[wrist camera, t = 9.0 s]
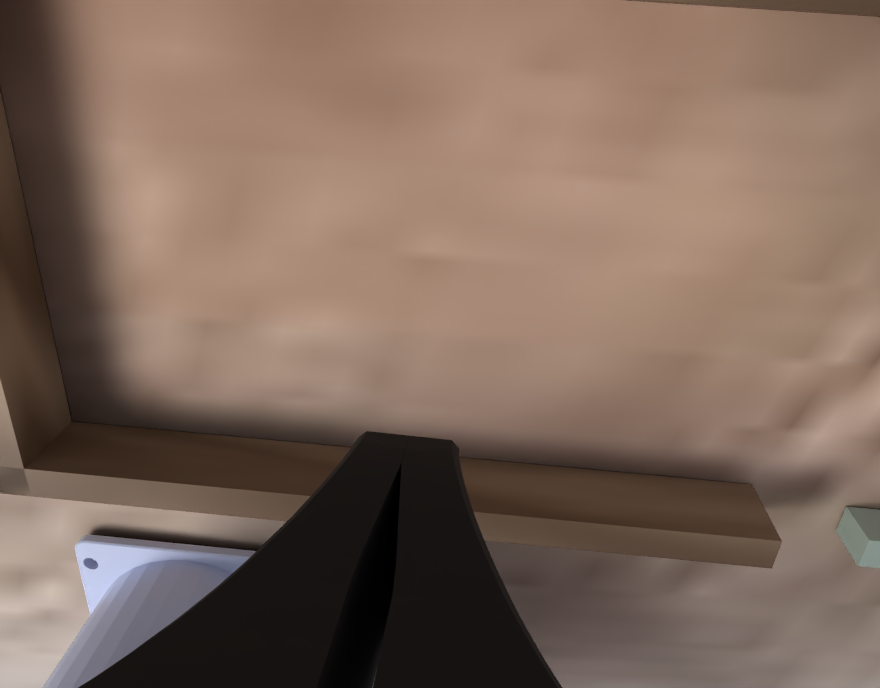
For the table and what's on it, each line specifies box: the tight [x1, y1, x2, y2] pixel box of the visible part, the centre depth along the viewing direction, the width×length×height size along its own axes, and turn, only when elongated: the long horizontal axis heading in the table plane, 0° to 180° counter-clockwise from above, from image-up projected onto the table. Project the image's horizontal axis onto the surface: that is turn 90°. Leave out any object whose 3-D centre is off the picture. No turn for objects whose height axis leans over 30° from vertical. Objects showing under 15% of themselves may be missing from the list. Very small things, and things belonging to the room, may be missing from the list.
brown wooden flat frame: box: [0, 0, 880, 568], centre depth 18 cm, size 15×23×2 cm, turn 87°
